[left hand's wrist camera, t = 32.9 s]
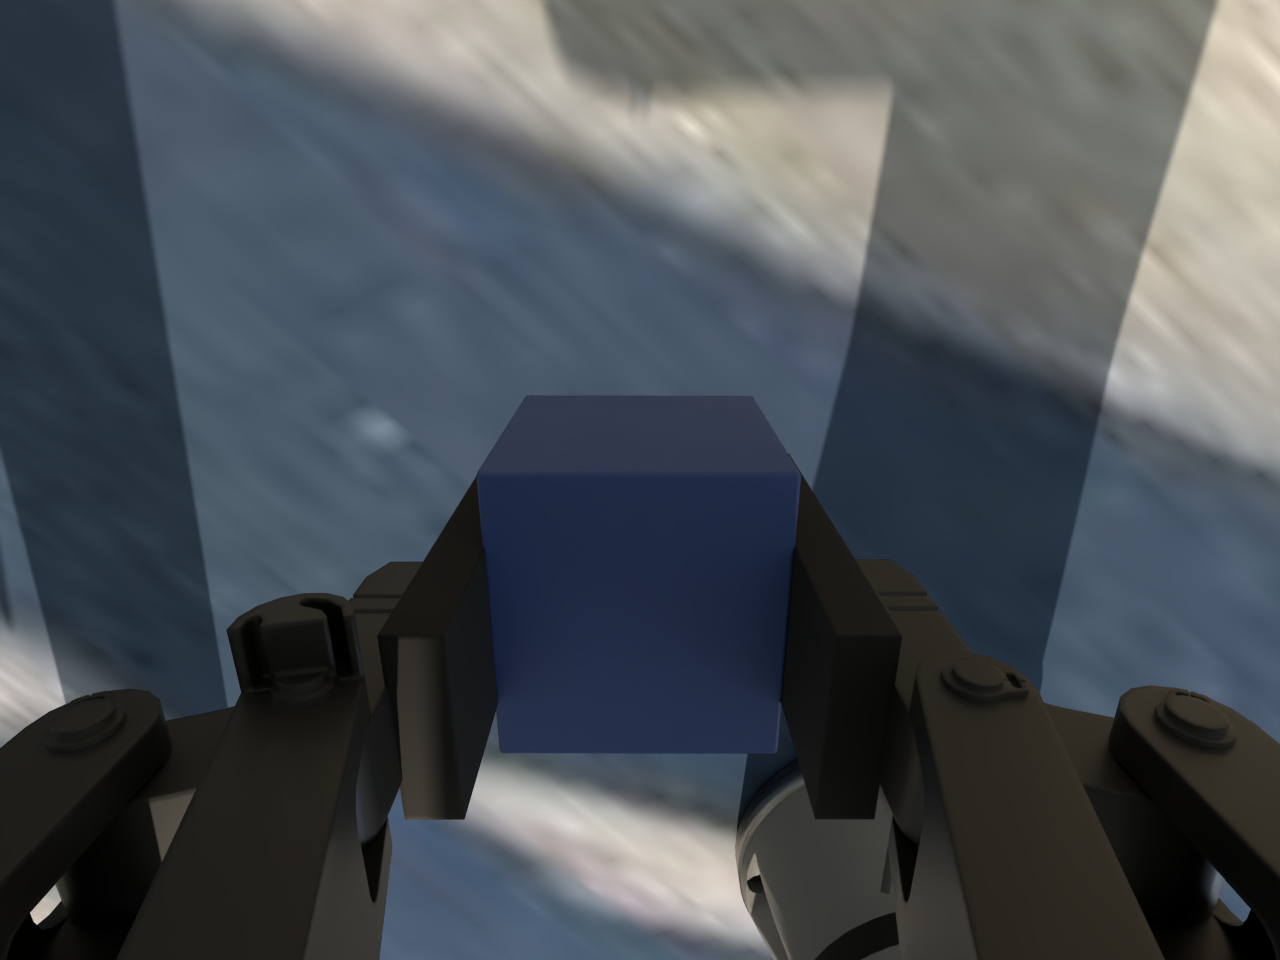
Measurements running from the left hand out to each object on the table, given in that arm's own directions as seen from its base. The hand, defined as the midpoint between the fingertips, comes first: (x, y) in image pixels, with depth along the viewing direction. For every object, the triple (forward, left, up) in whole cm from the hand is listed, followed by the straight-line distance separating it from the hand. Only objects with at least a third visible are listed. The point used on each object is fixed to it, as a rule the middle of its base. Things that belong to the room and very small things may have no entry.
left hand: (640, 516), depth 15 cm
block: (0, 0, 0) cm, 0 cm away
